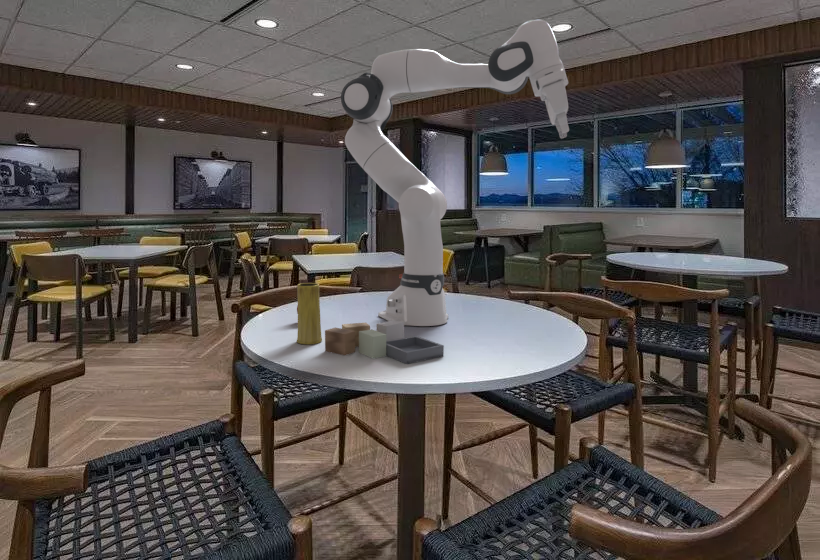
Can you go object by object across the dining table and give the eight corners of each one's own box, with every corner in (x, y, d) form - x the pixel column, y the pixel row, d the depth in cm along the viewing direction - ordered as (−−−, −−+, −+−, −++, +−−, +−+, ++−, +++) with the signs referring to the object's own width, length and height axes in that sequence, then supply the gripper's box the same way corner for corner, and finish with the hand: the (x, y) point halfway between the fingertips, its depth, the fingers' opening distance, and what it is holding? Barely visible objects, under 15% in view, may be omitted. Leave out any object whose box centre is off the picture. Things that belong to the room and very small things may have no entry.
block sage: (359, 352, 119) (358, 331, 118) (371, 350, 121) (371, 329, 120) (373, 358, 114) (373, 336, 114) (386, 356, 116) (386, 334, 116)
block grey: (386, 346, 124) (386, 326, 124) (376, 343, 127) (376, 323, 126) (403, 341, 129) (404, 322, 128) (394, 339, 131) (394, 320, 130)
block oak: (345, 348, 123) (345, 327, 122) (342, 344, 126) (341, 324, 125) (370, 345, 125) (370, 325, 124) (365, 342, 128) (365, 322, 127)
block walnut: (325, 351, 120) (324, 330, 119) (335, 348, 123) (335, 327, 122) (345, 355, 116) (344, 334, 116) (355, 352, 119) (354, 331, 119)
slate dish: (380, 352, 118) (380, 342, 118) (416, 346, 124) (416, 336, 124) (406, 364, 110) (406, 352, 110) (443, 356, 116) (443, 345, 116)
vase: (310, 346, 124) (308, 287, 122) (291, 342, 127) (289, 284, 125) (326, 340, 129) (326, 283, 127) (308, 337, 132) (307, 281, 130)
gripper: (537, 96, 145) (551, 143, 146) (537, 78, 126) (554, 134, 126) (560, 87, 144) (574, 136, 144) (563, 68, 124) (580, 124, 125)
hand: (565, 135), depth 135 cm, fingers open, 8 cm apart
